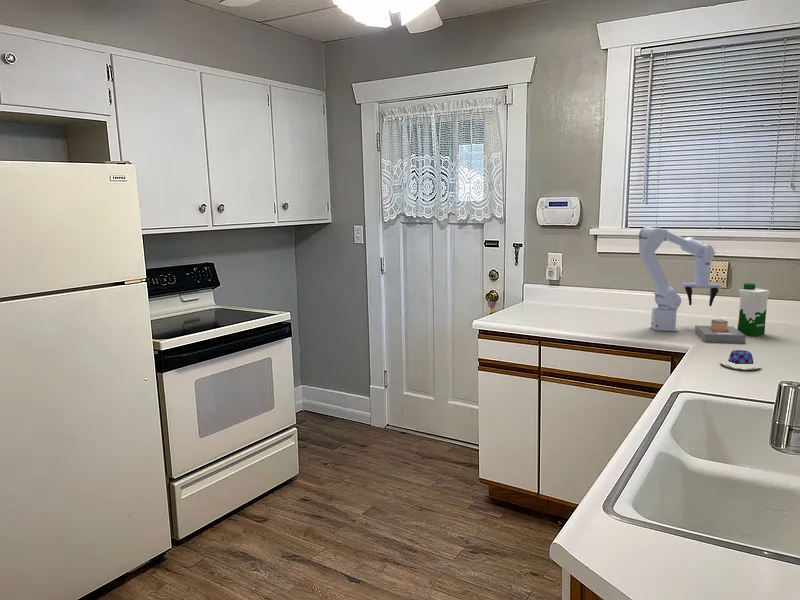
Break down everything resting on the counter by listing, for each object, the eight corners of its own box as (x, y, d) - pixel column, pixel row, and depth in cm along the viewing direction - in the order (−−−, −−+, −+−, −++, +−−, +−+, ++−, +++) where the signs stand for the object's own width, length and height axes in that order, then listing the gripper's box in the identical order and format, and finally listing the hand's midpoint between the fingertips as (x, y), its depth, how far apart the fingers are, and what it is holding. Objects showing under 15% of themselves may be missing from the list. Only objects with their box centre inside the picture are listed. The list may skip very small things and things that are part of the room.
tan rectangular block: (717, 339, 236) (718, 321, 235) (710, 337, 240) (711, 319, 239) (726, 338, 237) (727, 321, 235) (719, 336, 240) (720, 319, 239)
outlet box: (704, 342, 232) (705, 333, 232) (694, 332, 248) (695, 324, 247) (745, 343, 229) (745, 335, 228) (732, 333, 244) (733, 326, 244)
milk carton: (746, 330, 250) (750, 282, 246) (768, 334, 242) (773, 285, 238) (733, 333, 246) (737, 284, 242) (754, 337, 238) (759, 287, 234)
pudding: (711, 365, 202) (713, 350, 201) (732, 360, 208) (734, 345, 207) (747, 374, 192) (749, 358, 191) (768, 368, 198) (770, 353, 197)
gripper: (684, 274, 252) (682, 306, 254) (723, 275, 247) (720, 307, 249) (682, 271, 258) (680, 303, 261) (720, 272, 254) (718, 304, 256)
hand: (700, 305), depth 256 cm, fingers open, 7 cm apart
